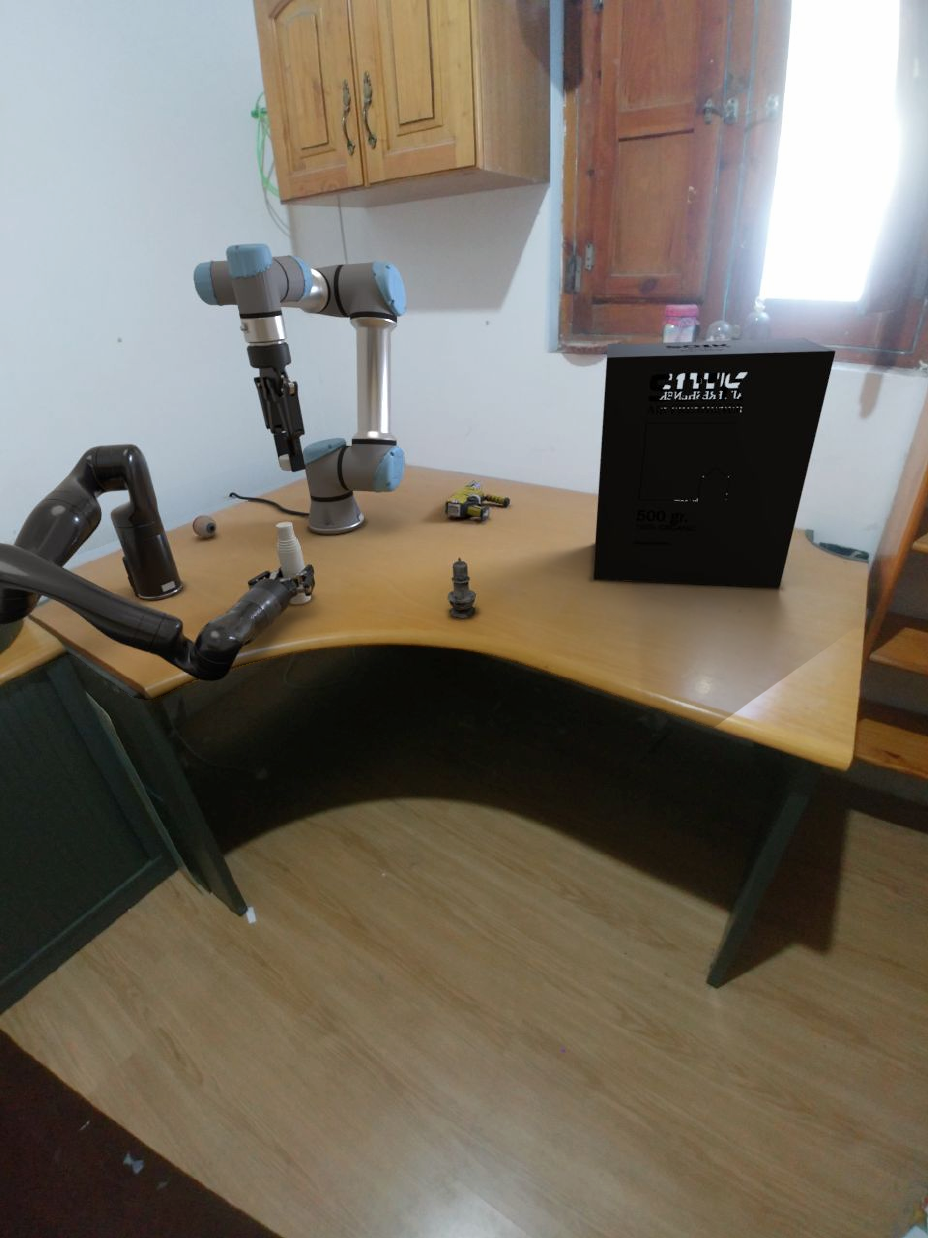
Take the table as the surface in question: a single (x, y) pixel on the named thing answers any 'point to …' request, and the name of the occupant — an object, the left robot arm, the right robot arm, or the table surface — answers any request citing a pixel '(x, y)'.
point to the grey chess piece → (461, 592)
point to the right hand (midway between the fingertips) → (292, 467)
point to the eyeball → (204, 526)
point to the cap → (285, 462)
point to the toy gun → (472, 502)
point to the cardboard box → (706, 459)
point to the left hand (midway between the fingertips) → (299, 567)
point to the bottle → (290, 556)
